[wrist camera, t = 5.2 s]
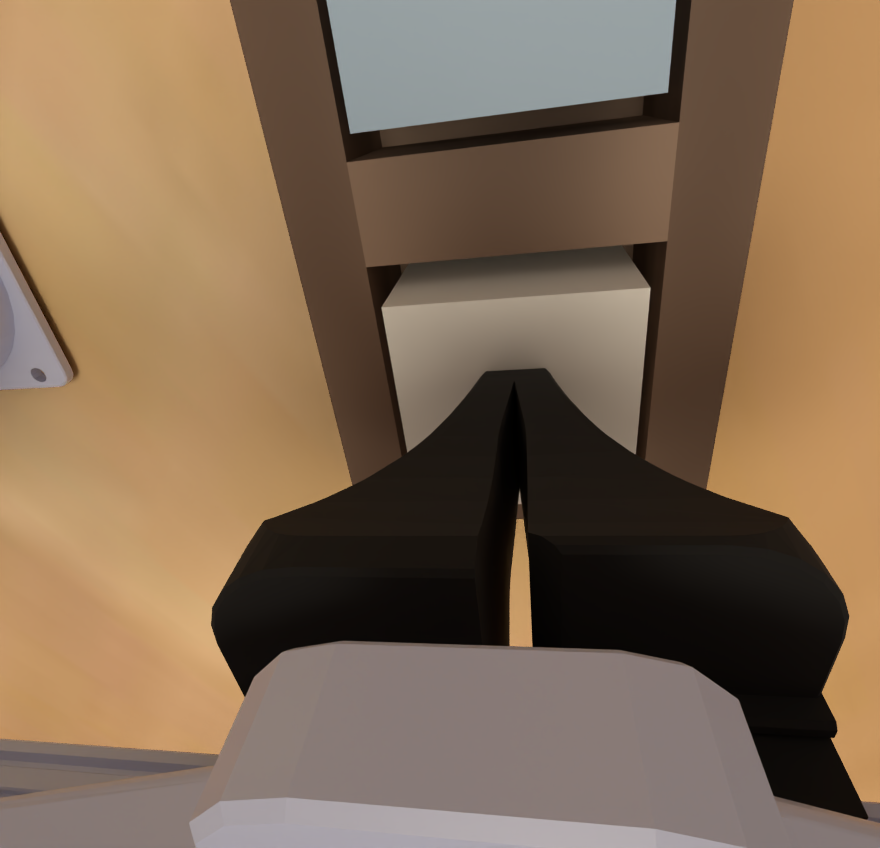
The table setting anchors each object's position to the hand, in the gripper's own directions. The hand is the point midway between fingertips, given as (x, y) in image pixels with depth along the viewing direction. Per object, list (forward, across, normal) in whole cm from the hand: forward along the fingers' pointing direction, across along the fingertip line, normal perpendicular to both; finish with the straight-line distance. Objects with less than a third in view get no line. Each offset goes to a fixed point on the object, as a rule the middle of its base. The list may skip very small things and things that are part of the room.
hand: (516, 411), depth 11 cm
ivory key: (+3, 0, 0) cm, 3 cm away
